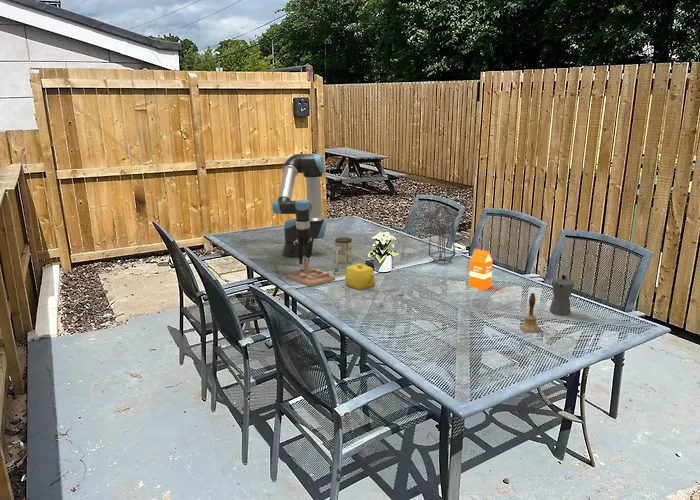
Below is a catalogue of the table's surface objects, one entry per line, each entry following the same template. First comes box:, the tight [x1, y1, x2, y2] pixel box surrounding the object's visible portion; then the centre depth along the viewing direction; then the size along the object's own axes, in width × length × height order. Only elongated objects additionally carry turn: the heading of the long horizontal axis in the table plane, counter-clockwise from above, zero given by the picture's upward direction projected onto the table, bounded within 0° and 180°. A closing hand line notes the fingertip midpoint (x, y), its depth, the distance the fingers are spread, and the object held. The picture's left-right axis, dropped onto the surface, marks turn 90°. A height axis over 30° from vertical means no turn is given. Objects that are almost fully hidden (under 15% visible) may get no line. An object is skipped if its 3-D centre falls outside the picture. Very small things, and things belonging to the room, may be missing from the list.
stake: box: [331, 246, 341, 275], centre depth 304 cm, size 4×6×15 cm
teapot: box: [344, 263, 376, 291], centre depth 284 cm, size 20×12×12 cm, turn 37°
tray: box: [287, 267, 336, 288], centre depth 296 cm, size 22×17×2 cm
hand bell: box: [519, 292, 541, 333], centre depth 227 cm, size 8×8×16 cm
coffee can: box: [334, 237, 353, 264], centre depth 328 cm, size 10×10×14 cm
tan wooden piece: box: [298, 260, 330, 281], centre depth 295 cm, size 17×12×7 cm
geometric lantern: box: [425, 205, 460, 265], centre depth 323 cm, size 16×16×35 cm
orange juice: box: [468, 248, 493, 291], centre depth 279 cm, size 8×9×20 cm
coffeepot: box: [549, 274, 575, 317], centre depth 245 cm, size 15×9×18 cm, turn 151°
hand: (304, 268), depth 300 cm, fingers closed on tan wooden piece, 2 cm apart
